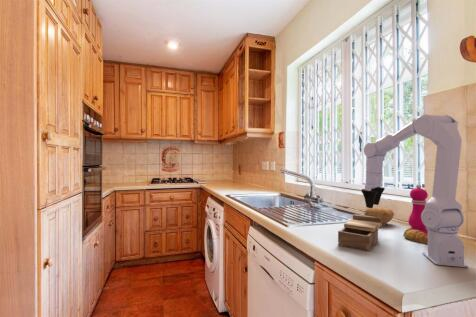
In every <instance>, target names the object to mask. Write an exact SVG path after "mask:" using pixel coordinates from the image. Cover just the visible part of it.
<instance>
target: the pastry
mask: <svg viewBox="0 0 476 317" xmlns="http://www.w3.org/2000/svg"><path fill="white" fill-rule="evenodd" d="M403 237H404V238H405V239H406V240H409V241H412V242H415V243H419V244H420V243H421V244H427V245H428V235H427V234H426V233H424V232H423V231H419V230H413V229H411V227H408V228H406V229H405V230H404V233H403Z"/></svg>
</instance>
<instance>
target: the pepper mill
mask: <svg viewBox="0 0 476 317" xmlns="http://www.w3.org/2000/svg"><path fill="white" fill-rule="evenodd" d="M415 187H416V188H415ZM415 187H414V188H412V189H411V190H410V192H409V197H410V198H411V204H412V210H411V212H410V215H409V216H408V225H409V226H410V228H411V229H413V230H419V231H423V232H424V233H426V234H427V235H428V229H426V226H425V225H424V224H423V222H422V219H421V214H422V212H423V210H424V209H425V204H426V202H427V198H428V197H429V196H428V195H429V194H428V191H427V190H426V189H424V188H422V185H421V184H419V183H418V184H416V185H415Z"/></svg>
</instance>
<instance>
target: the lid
mask: <svg viewBox="0 0 476 317" xmlns="http://www.w3.org/2000/svg"><path fill="white" fill-rule="evenodd" d="M382 226H383V225H382V218H380V217H372V216H365V215H363V214H362V215H361V214H356V213H355V214H352V219H350V220H349V221H347V222H344V223H343V228H345V227H347V228H353V229H359V230H365V231H371V232H374V231H375V230H376V229H378V230H379V228H380V227H382Z"/></svg>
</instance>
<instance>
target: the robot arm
mask: <svg viewBox="0 0 476 317" xmlns="http://www.w3.org/2000/svg"><path fill="white" fill-rule="evenodd" d="M458 127H459V121H458V120H456V119H455V118H453V117H452V116H450V115H447V114H444V115H439V114H437V115H435V114H425V113H424V114H420V115H418V116H417V117H414V118H413V119H412V120H411V122H409V124H407V125H405V126H403V127H402V128H401V129H400V130H398V131H397V132H395V133H385V134H383V137H381V138H379V139H375V141H374V142H371V141H370V142H367V143H366V144H365V145H364V147H363V153H364V155H365V157H366V167H365V168H366V170H365V171H366V172H365V174H366V175H365V181H364V182H362V185H364V188H362V189H361V193H362V195H363V197H364V202H365V207H366V209H368V208H374V205H376V206H379V204H380V201H381V197H382V195H383V192H384V191H385V187H383V183H382V182H383V163H384V161H385V157H386V155H387V154H388V152H390V151H392V150H394V149H396V148H398V147H399V146H400V144H401V143H400V142H404V140H408V139H409V138H411V137H414V136H416V135H419V136H422V137H424V138H427V139H429V140H430V141H431V142H432V143H433V144H434V145H435V146H436V156H435V165H434V174H433V175H434V176H433V183H432V184H433V185H432V192H431V193H432V194H431V197H430V198H429V199H428V200H426V204H425V209H424V210H423V212H422V214H421V219H422V222H423V224H424V225H425V226H426V229H427V230H428V244H427V251H422V254H423V255H424V256H425V258H427V259H429V261H430V262H432V263H433V264H434V265H438V266H448V267H449V266H451V267H463V268H468V267H469V265H468V264H466V263H465V244H464V242H463V241H462V239H461V238H459V234H458V233H459V231H460V227H461V226H462V225H463V224H464V222H465V218H464V213H463V211H462V210H463V209H462V208H463V205H462V204H461V203H460V202H458V201H457V200H456V197H457V196H456V195H457V187H458V179H459V178H458V177H459V170H460V169H459V168H460V160H461V149H462V137H461V134H460V132H459V129H458Z"/></svg>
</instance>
